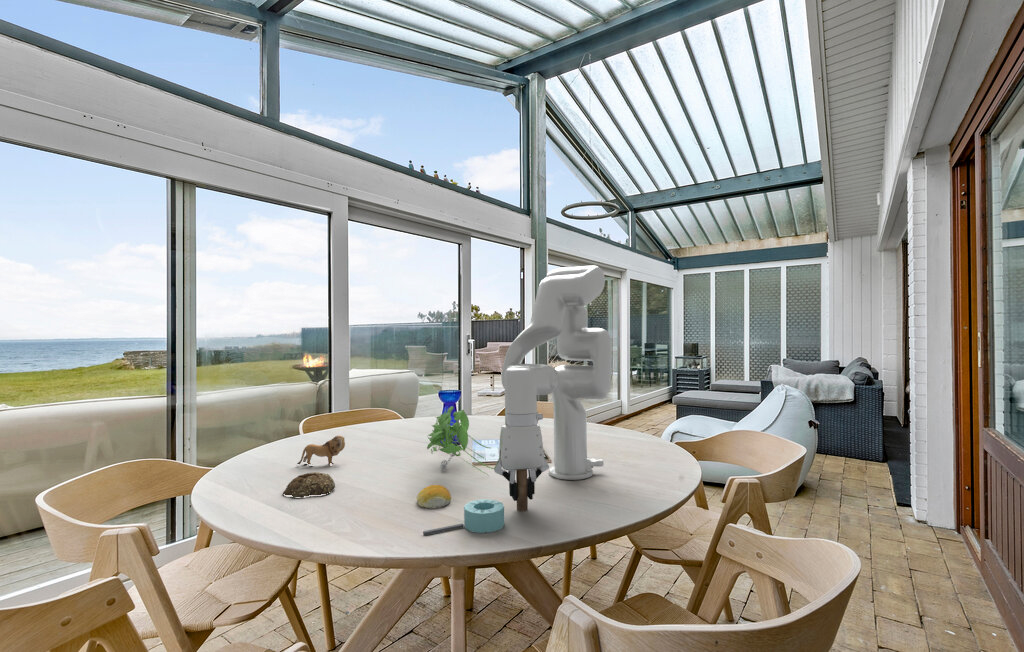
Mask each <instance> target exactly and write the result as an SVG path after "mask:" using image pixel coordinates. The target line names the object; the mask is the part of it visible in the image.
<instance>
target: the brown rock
mask: <svg viewBox="0 0 1024 652" xmlns="http://www.w3.org/2000/svg"><path fill="white" fill-rule="evenodd" d="M334 488H336V484H335V482H334V478H332V476H331V475H330V474H329V473H324V472H317V471H316V472H307V473H304V474H299V475H297V476H296V477H294V478H293V479H292V480H291V481H290V482H288V484H287V485H286V488H285V489H284V491H283V492H282V495H283V494H285V495H292V496H293V497H304V496H309V495H321V494H327V493H329V492H331V491H332V490H333V489H334ZM334 490H335V489H334ZM334 490H333V491H334ZM333 491H332V492H333ZM332 492H331V493H332ZM293 497H292V498H293Z"/></svg>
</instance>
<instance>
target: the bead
mask: <svg viewBox="0 0 1024 652" xmlns="http://www.w3.org/2000/svg"><path fill="white" fill-rule="evenodd" d="M463 511H464V512H463V516H464V520H463V522H464V523H463V525H464V529H465V530H467V531H469V532H471V533H478V534H485V532H487V533H494V532H497V531H499V530H501V529H502V528H504V526H505V505H504V503H503V502H501V501H499V500H497V499H487V498H485V499H484V498H483V499H475V500H472V501H468V502H467V503H466V504H465V505H464V506H463ZM496 530H497V531H496ZM493 531H494V532H493Z"/></svg>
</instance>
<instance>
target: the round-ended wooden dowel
mask: <svg viewBox="0 0 1024 652" xmlns="http://www.w3.org/2000/svg"><path fill="white" fill-rule="evenodd" d="M527 479H528V469H524V470H516V474H515V480H516V483H517V501H516V511H518V512H526V510H527V511H528V509H529V508H528V507H529V506H528V503H529V502H528V501H529V498H528V487H527Z"/></svg>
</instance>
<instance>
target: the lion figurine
mask: <svg viewBox="0 0 1024 652" xmlns="http://www.w3.org/2000/svg"><path fill="white" fill-rule="evenodd" d="M345 446H346V442H345V436H342V435H335V436H333V438H331V439H329V440H328V441H326V442H325V443H324V444H315V443H311V444H307V445H306V446H305V447H304V448H303V450H302V454H301V457H300V460H299V461H298V462H297V463H296V464H299V465H301V463H303V462H307V463H308V464H312V463H311V460H312V457H313V455H315V456H317V457H319V458H323V457H327V461H328V465H329V464H330V463H332V462H333V461H332V460H333V457H335V456H338V455H339V454H340V452H342V451H343V450H344V449H345ZM305 454H306V455H305ZM308 464H307V465H308Z"/></svg>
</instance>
